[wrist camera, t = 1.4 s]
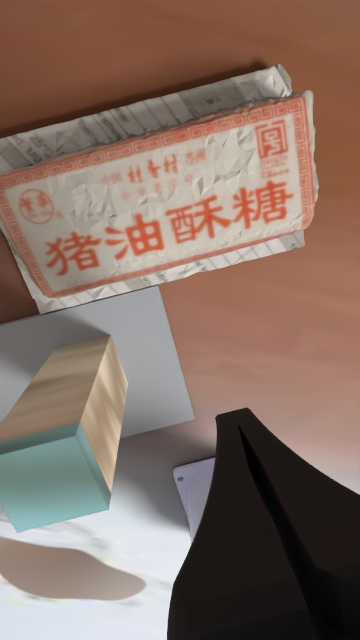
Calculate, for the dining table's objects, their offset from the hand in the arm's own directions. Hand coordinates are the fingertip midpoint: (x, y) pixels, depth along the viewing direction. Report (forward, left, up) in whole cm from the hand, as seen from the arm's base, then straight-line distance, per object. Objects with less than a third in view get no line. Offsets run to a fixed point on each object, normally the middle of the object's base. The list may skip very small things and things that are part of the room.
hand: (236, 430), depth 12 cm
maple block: (0, +8, -10) cm, 13 cm away
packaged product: (+9, +1, -11) cm, 15 cm away
